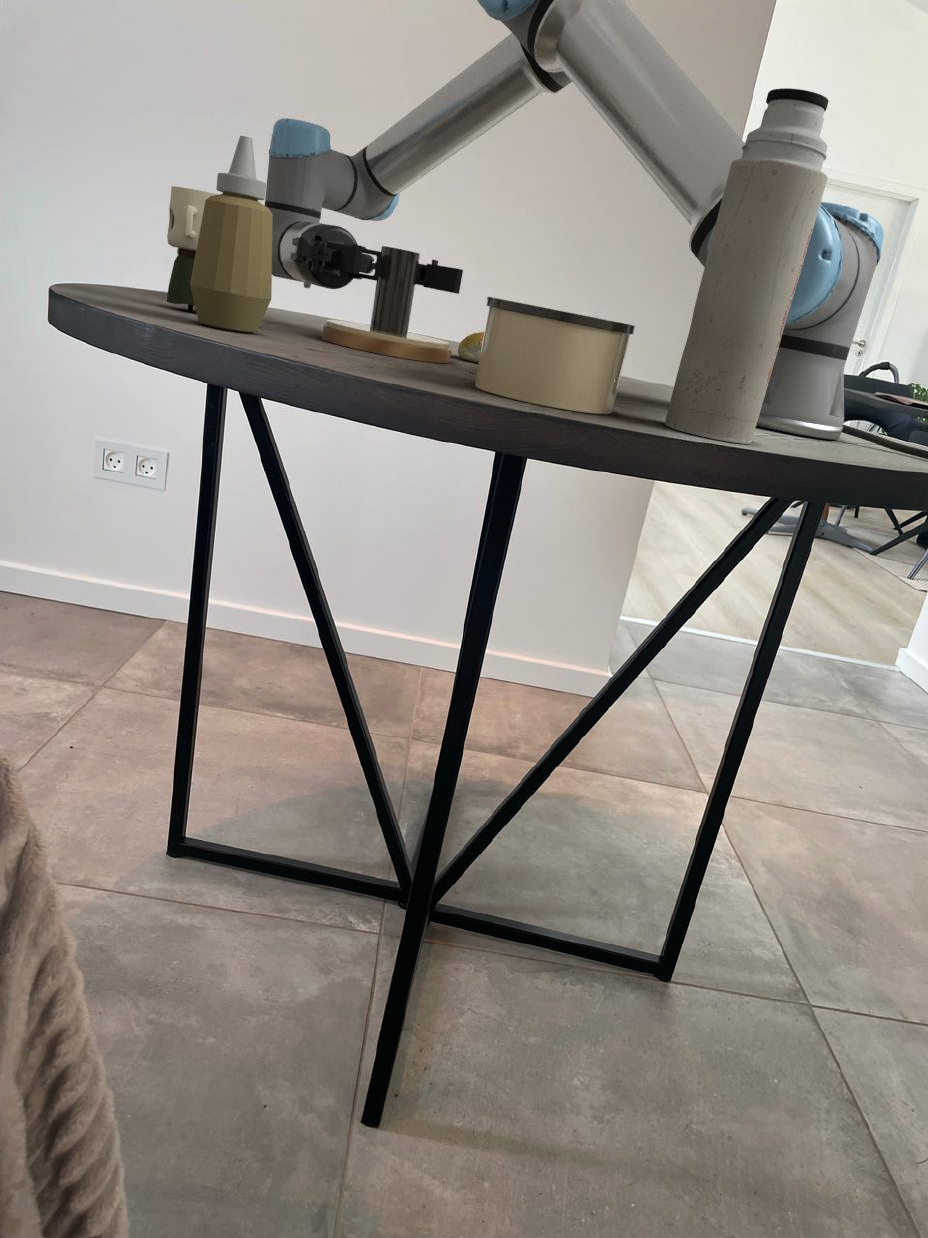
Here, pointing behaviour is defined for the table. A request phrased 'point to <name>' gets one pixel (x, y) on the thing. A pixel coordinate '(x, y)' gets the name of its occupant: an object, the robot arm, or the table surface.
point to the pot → (552, 357)
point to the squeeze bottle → (234, 249)
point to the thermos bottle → (752, 270)
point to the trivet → (386, 346)
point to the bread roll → (471, 347)
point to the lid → (392, 302)
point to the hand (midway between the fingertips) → (410, 271)
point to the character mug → (184, 240)
